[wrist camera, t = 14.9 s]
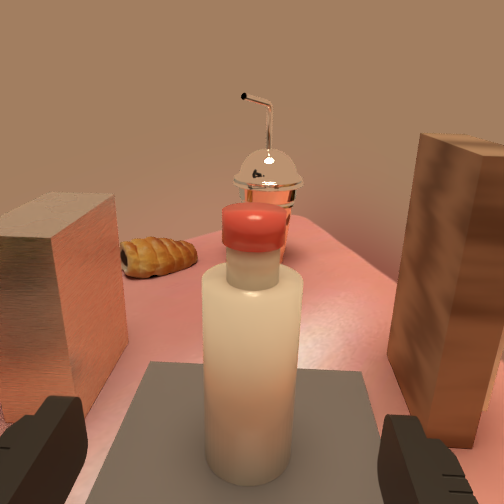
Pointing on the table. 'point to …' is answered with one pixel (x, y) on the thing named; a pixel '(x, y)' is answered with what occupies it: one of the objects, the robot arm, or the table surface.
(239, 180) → the cup with straw
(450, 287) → the stand
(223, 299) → the sauce bottle
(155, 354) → the table surface
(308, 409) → the slate tray
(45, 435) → the robot arm
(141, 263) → the pastry
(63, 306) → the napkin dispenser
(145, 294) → the table surface
